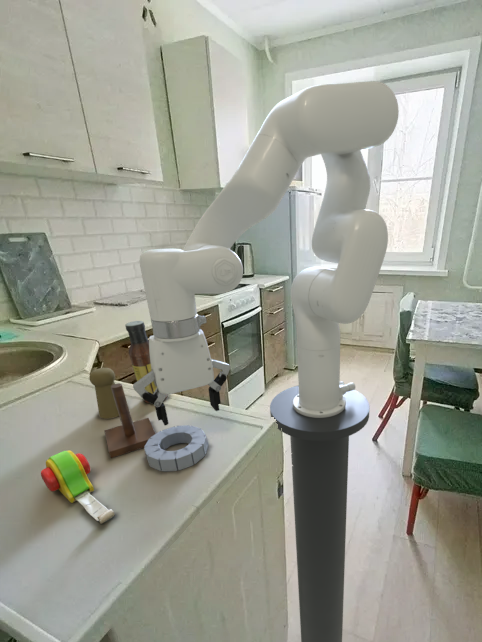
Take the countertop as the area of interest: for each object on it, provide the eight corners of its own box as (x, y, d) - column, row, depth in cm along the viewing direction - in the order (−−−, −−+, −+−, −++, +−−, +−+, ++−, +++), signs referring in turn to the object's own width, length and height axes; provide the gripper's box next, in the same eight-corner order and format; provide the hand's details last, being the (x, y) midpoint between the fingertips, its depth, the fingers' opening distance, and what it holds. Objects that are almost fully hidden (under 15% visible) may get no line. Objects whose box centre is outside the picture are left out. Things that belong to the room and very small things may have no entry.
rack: (150, 423, 79) (136, 372, 73) (158, 442, 72) (144, 387, 66) (106, 436, 75) (88, 383, 69) (110, 458, 68) (92, 401, 62)
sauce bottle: (168, 391, 93) (151, 317, 84) (169, 401, 87) (151, 324, 79) (142, 396, 91) (122, 321, 82) (141, 407, 86) (120, 328, 77)
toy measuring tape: (76, 463, 67) (65, 434, 64) (128, 509, 55) (118, 477, 52) (39, 482, 62) (25, 451, 60) (87, 536, 51) (73, 502, 48)
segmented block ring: (197, 430, 75) (195, 419, 74) (215, 457, 66) (213, 445, 65) (142, 447, 70) (139, 436, 69) (154, 479, 62) (151, 467, 60)
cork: (107, 421, 80) (93, 377, 75) (94, 414, 84) (80, 371, 79) (131, 410, 85) (120, 368, 80) (118, 403, 88) (106, 362, 83)
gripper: (217, 314, 66) (226, 395, 74) (118, 330, 59) (139, 419, 66) (232, 323, 61) (240, 410, 68) (124, 342, 53) (147, 438, 60)
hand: (190, 414), depth 67 cm, fingers open, 9 cm apart
